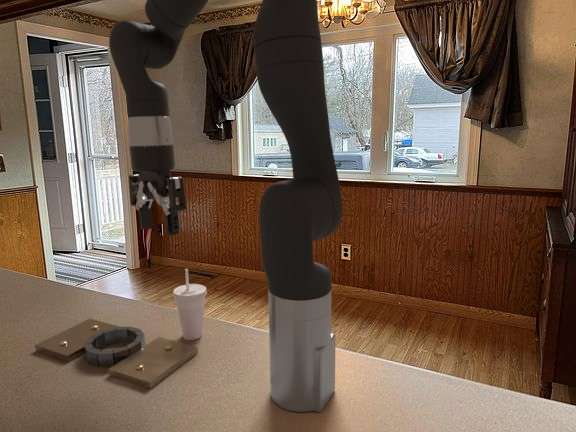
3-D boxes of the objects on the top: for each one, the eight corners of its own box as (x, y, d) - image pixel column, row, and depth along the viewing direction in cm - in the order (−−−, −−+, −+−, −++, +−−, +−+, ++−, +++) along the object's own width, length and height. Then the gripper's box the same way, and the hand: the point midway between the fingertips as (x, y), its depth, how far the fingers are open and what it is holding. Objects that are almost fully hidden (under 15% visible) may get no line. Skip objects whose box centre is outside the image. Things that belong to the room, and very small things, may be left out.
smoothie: (169, 338, 83) (163, 270, 80) (190, 325, 88) (186, 261, 85) (194, 346, 80) (190, 276, 77) (215, 331, 85) (212, 265, 82)
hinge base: (197, 352, 78) (196, 340, 77) (150, 389, 67) (148, 374, 66) (90, 323, 90) (89, 312, 89) (35, 350, 79) (34, 338, 78)
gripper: (193, 142, 74) (199, 232, 77) (147, 142, 83) (155, 223, 86) (155, 143, 68) (164, 241, 71) (111, 144, 77) (120, 230, 81)
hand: (159, 231), depth 79 cm, fingers open, 8 cm apart
